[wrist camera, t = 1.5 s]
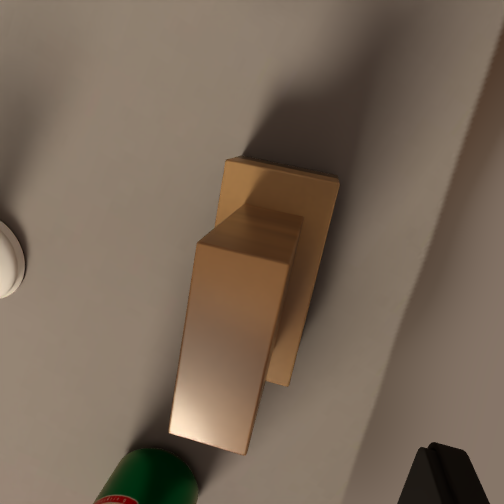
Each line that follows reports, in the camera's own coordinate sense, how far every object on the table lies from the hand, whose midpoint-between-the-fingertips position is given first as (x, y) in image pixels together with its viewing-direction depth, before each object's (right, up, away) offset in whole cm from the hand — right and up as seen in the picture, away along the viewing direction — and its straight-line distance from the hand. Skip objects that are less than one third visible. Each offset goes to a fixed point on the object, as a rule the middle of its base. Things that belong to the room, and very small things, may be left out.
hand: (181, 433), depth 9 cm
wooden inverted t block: (+2, +3, +11) cm, 12 cm away
